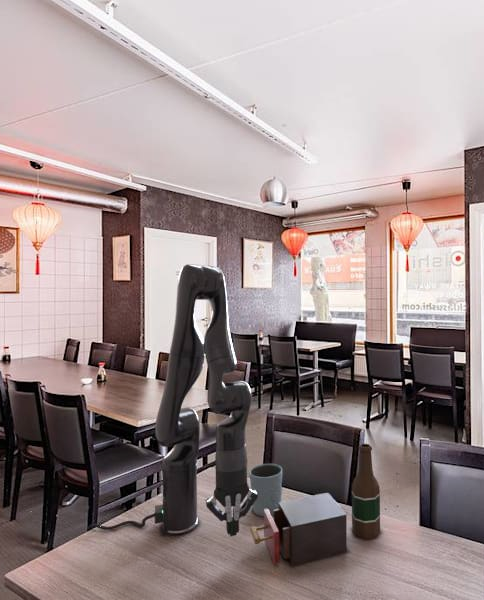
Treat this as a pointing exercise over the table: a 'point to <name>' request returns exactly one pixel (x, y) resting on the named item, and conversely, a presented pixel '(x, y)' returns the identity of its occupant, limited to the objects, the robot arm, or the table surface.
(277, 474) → the drinking glass
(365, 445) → the beer bottle
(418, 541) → the table surface
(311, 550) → the cabinet
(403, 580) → the table surface
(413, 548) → the table surface
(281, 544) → the drawer
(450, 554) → the table surface
